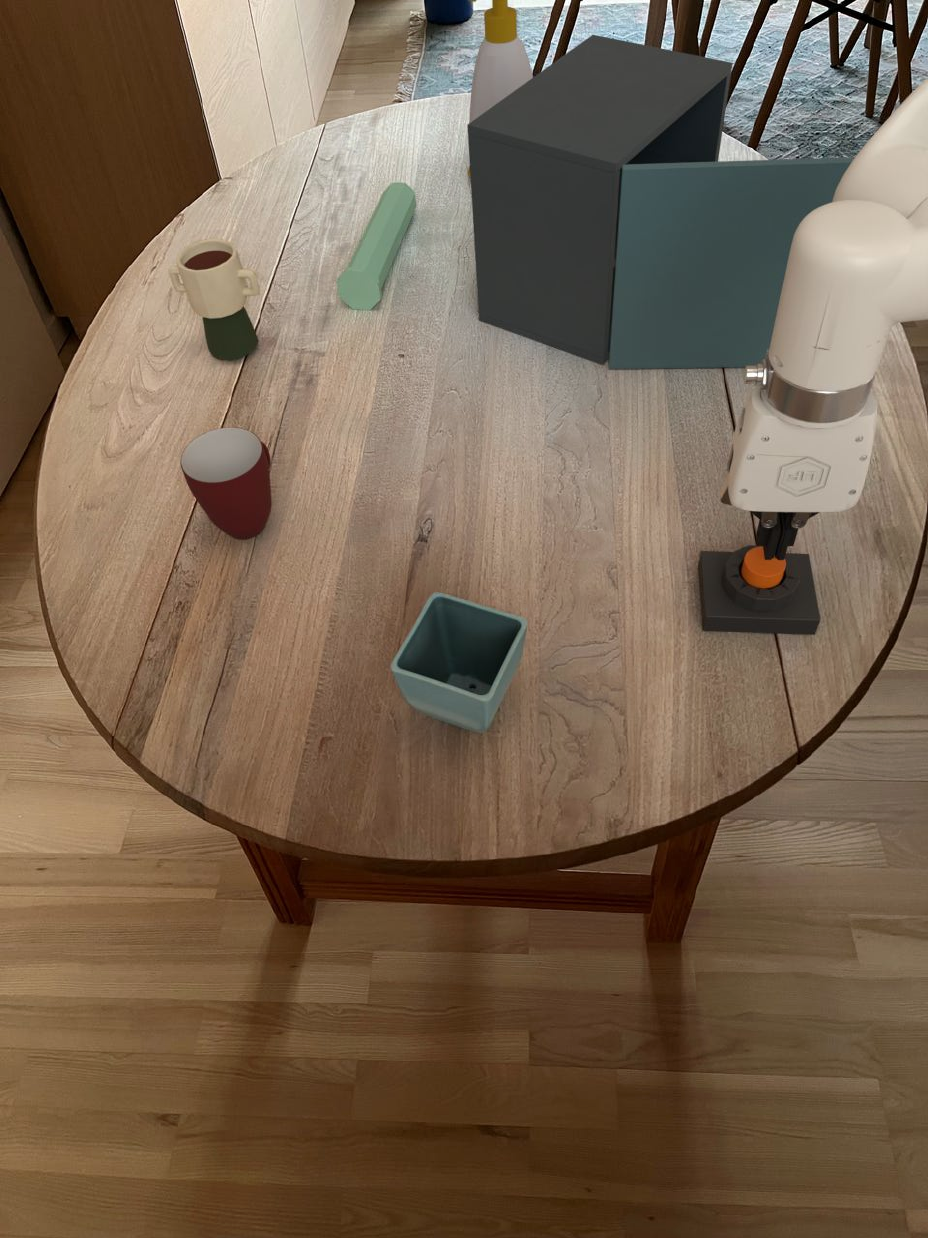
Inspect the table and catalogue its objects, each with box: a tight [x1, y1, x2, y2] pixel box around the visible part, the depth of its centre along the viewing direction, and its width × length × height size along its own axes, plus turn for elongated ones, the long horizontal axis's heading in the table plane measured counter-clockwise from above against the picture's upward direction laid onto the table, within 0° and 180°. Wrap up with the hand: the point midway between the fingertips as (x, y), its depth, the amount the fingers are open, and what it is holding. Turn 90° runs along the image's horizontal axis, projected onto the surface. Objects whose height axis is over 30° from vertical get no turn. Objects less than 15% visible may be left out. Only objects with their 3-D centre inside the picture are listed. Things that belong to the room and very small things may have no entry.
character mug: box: [168, 237, 261, 362], centre depth 113 cm, size 11×7×13 cm, turn 79°
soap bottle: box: [467, 0, 534, 180], centre depth 131 cm, size 11×12×26 cm
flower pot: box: [389, 591, 529, 734], centre depth 80 cm, size 9×9×9 cm
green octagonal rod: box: [335, 182, 417, 311], centre depth 127 cm, size 6×6×25 cm
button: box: [741, 547, 786, 589], centre depth 85 cm, size 4×4×2 cm
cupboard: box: [466, 34, 733, 366], centre depth 112 cm, size 18×26×24 cm
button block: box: [697, 544, 821, 636], centre depth 87 cm, size 10×8×4 cm
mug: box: [179, 426, 273, 541], centre depth 96 cm, size 11×8×10 cm
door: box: [608, 156, 856, 370], centre depth 99 cm, size 8×26×24 cm, turn 86°
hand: (772, 547), depth 83 cm, fingers closed
